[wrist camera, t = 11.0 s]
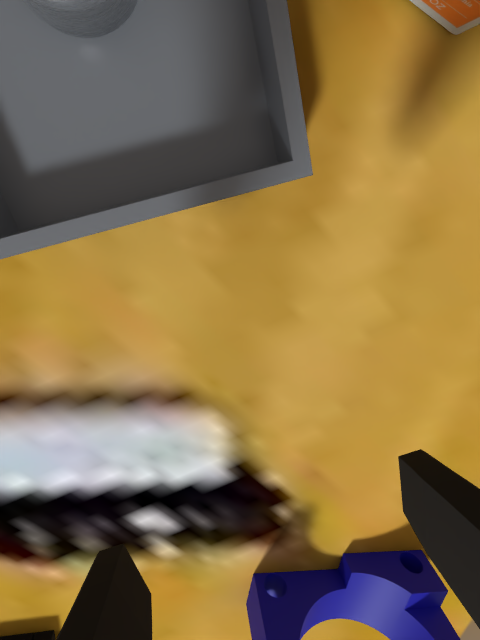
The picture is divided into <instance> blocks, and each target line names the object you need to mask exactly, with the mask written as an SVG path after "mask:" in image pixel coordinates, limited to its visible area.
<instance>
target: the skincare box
mask: <svg viewBox="0 0 480 640" xmlns="http://www.w3.org/2000/svg"><path fill="white" fill-rule="evenodd" d="M410 1H411V2H412V3H413V4H415V5H416V6H417V7H419V8H420V9H421V10H423V11H424V12H425V13H426V14H428V15H429V16H430V17H432V18H433V19H434V20H436V21H437V22H438V23H439V24H441V25H442V26H443V27H445V28H446V29H447V30H448V31H449V32H451V33H452V34H455V35H457V34H460V33H462V32H464V31H466V30H468V29H470V28H473V27H475V26H477V25H479V24H480V0H410Z"/></svg>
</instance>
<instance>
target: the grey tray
mask: <svg viewBox="0 0 480 640" xmlns="http://www.w3.org/2000/svg"><path fill="white" fill-rule="evenodd" d="M311 175H313V173H312V166H311V159H310V153H309V146H308V139H307V133H306V126H305V119H304V113H303V106H302V99H301V93H300V86H299V79H298V73H297V66H296V59H295V53H294V46H293V39H292V33H291V26H290V19H289V13H288V6H287V0H138V2H137V4H136V6H135V8H134V10H133V12H132V14H131V15H130V16H129V18H128V19H127V20H126V21H125V22H124V23H123V24H122V25H121V26H120V27H119V28H117V29H116V30H114V31H113V32H111V33H109V34H106V35H103V36H100V37H94V38H82V37H75V36H72V35H68V34H65V33H63V32H61V31H59V30H57V29H55V28H53V27H52V26H50V25H48V24H47V23H46V22H44V21H43V20H42V19H41V18H40V17H38V16H37V15H36V14H35V13H34V12H33V11H32V10H31V8H30V7H29V6H28V5H27V4H26V3H25V2H24V0H0V259H3V258H6V257H10V256H14V255H18V254H21V253H25V252H29V251H32V250H36V249H40V248H43V247H47V246H51V245H55V244H58V243H62V242H66V241H69V240H73V239H77V238H81V237H84V236H88V235H92V234H95V233H99V232H103V231H107V230H110V229H114V228H118V227H121V226H125V225H129V224H133V223H136V222H140V221H144V220H147V219H151V218H155V217H159V216H162V215H166V214H170V213H173V212H177V211H181V210H185V209H188V208H192V207H196V206H199V205H203V204H207V203H211V202H214V201H218V200H222V199H225V198H229V197H233V196H236V195H240V194H244V193H248V192H251V191H255V190H259V189H262V188H266V187H270V186H274V185H277V184H281V183H285V182H288V181H292V180H296V179H300V178H303V177H307V176H311Z"/></svg>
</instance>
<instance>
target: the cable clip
mask: <svg viewBox="0 0 480 640" xmlns="http://www.w3.org/2000/svg"><path fill="white" fill-rule="evenodd" d="M447 592H448V590H447V588H446V587H445V585H444V584H443V582H442V581H441V579H440V578H439V576H438V575H437V573H436V572H435V570H434V568H433V567H432V565H431V564H430V562H429V561H428V559H427V558H426V556H425V555H424V553H423V552H422V550H410V551H388V552H366V553H344V554H343V556H342V559H341V562H340V565H339V568H338V569H329V570H311V571H293V572H275V573H256V574H253V578H252V582H251V586H250V591H249V595H248V599H247V603H246V605H247V611H248V617H249V623H250V630H251V636H252V640H300V639H301V638H302V637H303V635H304V634H305V633H306V632H307V631H308V630H309V629H310V628H312V627H313V626H314V625H316V624H318V623H320V622H322V621H325V620H329V619H336V618H343V619H351V620H355V621H359V622H361V623H364V624H367V625H369V626H371V627H373V628H375V629H376V630H378V631H379V632H381V633H383V634H384V635H385V636H387V637H388V638H389V639H391V640H460V638H459V637H458V635H457V633H456V632H455V630H454V628H453V627H452V625H451V623H450V622H449V620H448V619H447V617H446V615H445V614H444V612H443V610H442V609H441V607H440V606H441V604H442V602H443V600H444V598H445V596H446V594H447Z"/></svg>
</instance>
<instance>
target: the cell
mask: <svg viewBox="0 0 480 640" xmlns="http://www.w3.org/2000/svg"><path fill="white" fill-rule="evenodd" d="M24 2H25V3H26V4H27V5H28V6H29V7H30V8H31V10H32V11H33V12H34V13H35V14H36V15H37V16H38V17H40V18H41V19H42V20H43V21H44V22H46V23H47V24H48V25H50V26H52V27H53V28H55V29H57V30H59V31H61V32H63V33H65V34H68V35H72V36H75V37H82V38H94V37H100V36H103V35H106V34H109V33H111V32H113V31H114V30H116V29H117V28H119V27H120V26H121V25H122V24H123V23H124V22H125V21H126V20H127V19H128V18H129V16H130V15H131V14H132V12H133V10H134V8H135V6H136V4H137V2H138V0H24Z"/></svg>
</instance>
